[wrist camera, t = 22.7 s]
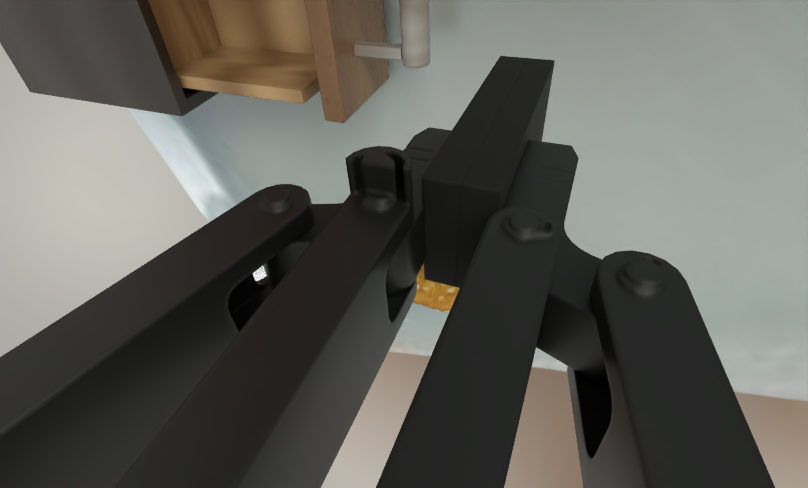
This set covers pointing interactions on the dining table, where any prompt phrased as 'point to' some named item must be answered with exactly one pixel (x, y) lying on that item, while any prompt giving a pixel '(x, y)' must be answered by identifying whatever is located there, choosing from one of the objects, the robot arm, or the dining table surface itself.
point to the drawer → (291, 47)
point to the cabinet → (95, 53)
